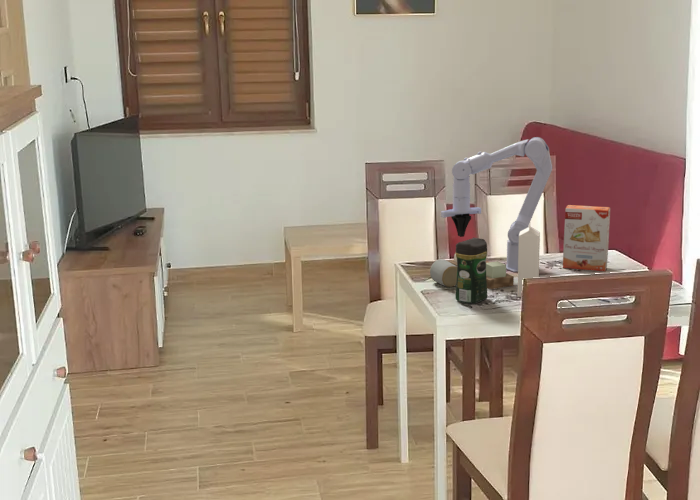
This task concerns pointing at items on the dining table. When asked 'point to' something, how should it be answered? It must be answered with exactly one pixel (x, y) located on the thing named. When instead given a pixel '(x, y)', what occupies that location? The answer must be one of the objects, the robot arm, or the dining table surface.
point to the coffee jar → (471, 271)
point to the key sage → (495, 269)
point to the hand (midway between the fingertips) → (461, 236)
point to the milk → (528, 255)
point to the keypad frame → (495, 280)
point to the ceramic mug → (444, 273)
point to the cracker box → (586, 237)
